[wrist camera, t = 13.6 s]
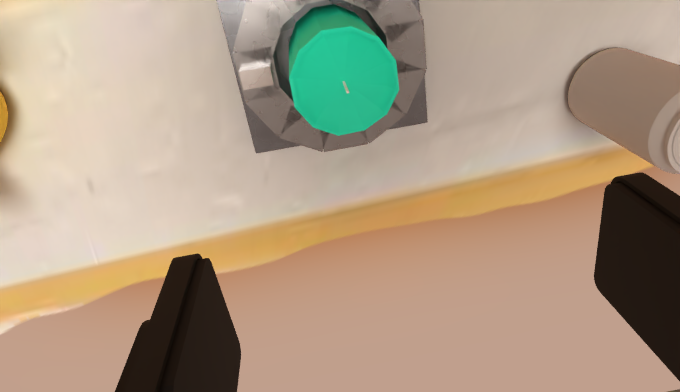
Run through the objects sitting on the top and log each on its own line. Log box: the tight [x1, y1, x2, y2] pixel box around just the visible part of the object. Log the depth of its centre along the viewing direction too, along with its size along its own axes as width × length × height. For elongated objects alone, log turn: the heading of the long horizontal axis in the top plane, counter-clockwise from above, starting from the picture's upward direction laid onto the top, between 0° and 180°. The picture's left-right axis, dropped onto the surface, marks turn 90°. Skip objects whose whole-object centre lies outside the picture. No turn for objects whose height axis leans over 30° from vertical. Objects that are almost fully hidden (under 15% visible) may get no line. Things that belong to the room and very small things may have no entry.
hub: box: [216, 0, 427, 153], centre depth 33 cm, size 14×14×6 cm
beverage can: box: [568, 48, 680, 174], centre depth 34 cm, size 6×6×12 cm
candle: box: [289, 4, 399, 136], centre depth 30 cm, size 6×6×12 cm
